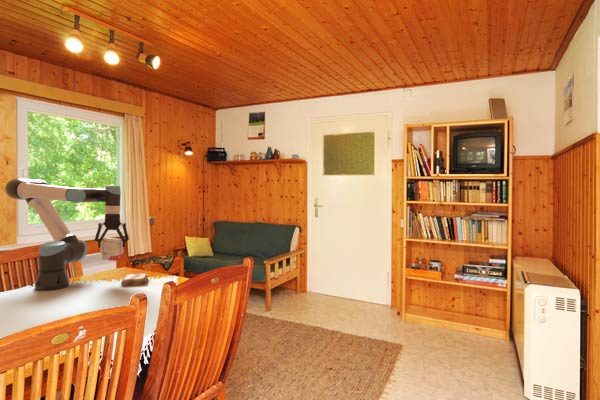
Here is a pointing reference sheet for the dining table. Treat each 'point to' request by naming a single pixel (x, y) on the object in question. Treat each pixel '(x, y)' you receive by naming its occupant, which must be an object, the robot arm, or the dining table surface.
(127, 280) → the plinth
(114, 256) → the ink box
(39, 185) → the robot arm
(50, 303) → the dining table surface
